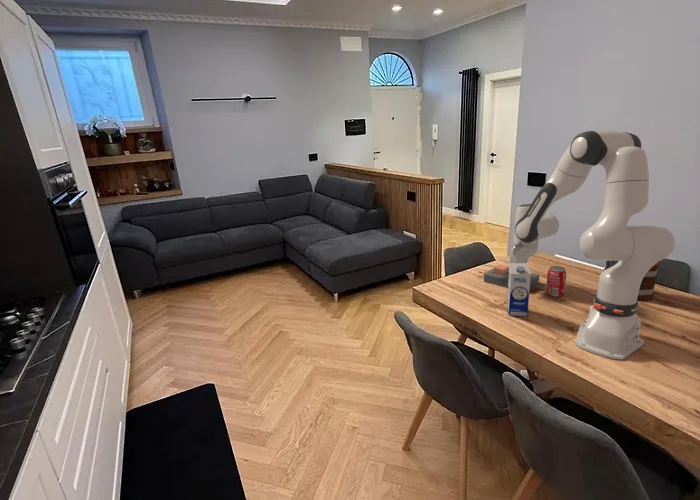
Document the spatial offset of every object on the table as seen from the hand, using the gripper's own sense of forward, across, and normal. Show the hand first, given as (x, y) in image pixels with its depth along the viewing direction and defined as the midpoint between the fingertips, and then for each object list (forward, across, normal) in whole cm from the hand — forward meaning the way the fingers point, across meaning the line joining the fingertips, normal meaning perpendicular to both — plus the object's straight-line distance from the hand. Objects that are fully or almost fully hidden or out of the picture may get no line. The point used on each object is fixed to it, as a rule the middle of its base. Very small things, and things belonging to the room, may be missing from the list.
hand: (522, 268), depth 171 cm
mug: (+8, +19, -36) cm, 42 cm away
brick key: (+5, 0, +10) cm, 11 cm away
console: (+8, 0, +5) cm, 10 cm away
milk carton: (+8, -26, -10) cm, 29 cm away
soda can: (+8, -1, -15) cm, 17 cm away
